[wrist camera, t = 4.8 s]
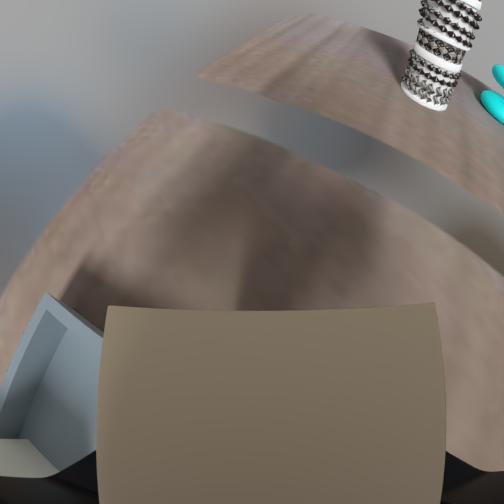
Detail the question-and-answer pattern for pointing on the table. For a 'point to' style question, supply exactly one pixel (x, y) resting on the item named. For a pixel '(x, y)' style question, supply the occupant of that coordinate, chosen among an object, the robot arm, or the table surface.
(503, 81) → the donuts
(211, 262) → the table surface
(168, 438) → the oat carton
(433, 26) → the decorative candle
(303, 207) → the table surface
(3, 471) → the cream rectangular block
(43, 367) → the tote
